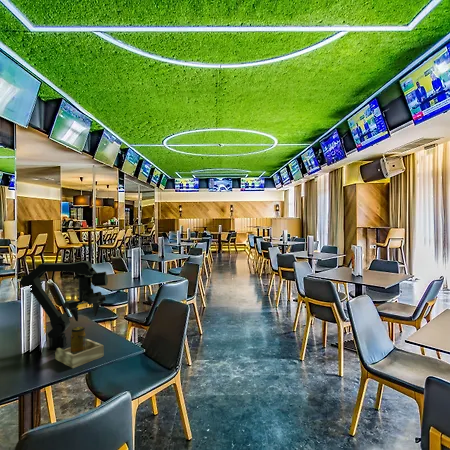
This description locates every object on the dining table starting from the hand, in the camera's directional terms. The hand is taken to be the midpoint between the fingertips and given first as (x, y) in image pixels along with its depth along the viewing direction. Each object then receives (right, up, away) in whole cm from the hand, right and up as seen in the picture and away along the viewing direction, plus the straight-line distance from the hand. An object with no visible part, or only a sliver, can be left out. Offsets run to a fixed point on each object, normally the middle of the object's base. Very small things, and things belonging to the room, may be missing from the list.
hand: (86, 318), depth 150 cm
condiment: (+3, -12, -14) cm, 19 cm away
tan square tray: (+3, -13, -14) cm, 19 cm away
